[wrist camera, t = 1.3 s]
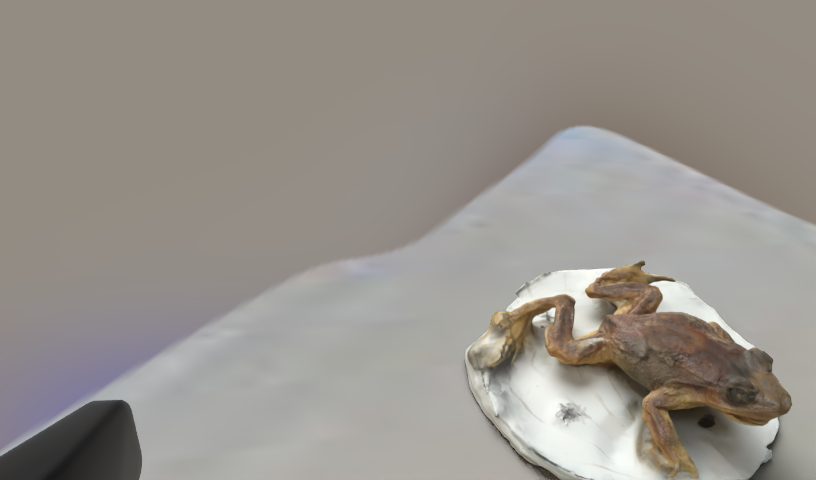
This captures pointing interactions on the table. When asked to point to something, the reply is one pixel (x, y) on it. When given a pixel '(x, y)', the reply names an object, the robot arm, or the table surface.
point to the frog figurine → (625, 380)
